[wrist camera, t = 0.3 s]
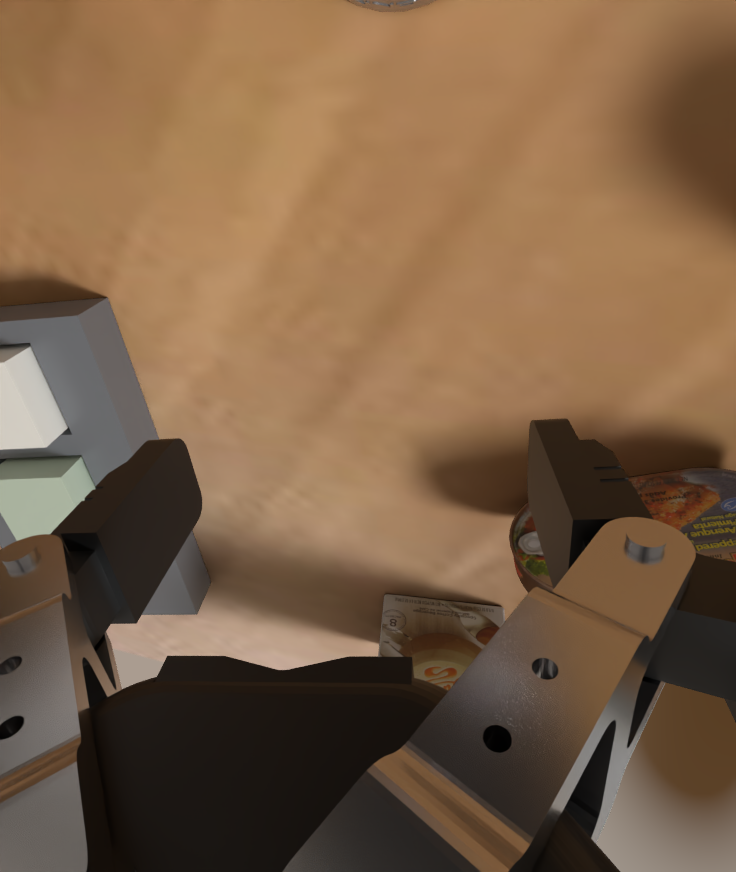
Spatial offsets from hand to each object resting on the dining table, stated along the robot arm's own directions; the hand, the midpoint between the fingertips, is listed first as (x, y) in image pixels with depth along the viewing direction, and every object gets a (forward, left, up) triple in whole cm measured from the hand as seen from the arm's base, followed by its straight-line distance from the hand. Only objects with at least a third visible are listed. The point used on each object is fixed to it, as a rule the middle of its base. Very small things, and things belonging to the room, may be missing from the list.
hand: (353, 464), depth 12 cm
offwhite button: (+4, -22, -16) cm, 27 cm away
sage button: (+11, -21, -16) cm, 29 cm away
